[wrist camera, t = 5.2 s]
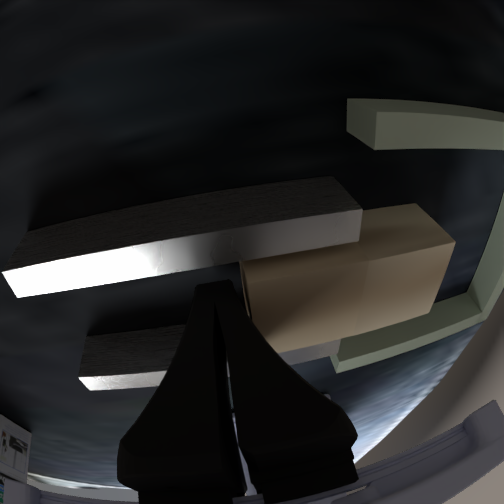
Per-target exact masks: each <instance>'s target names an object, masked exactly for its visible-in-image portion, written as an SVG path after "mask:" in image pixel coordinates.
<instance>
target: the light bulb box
mask: <svg viewBox="0 0 504 504" xmlns="http://www.w3.org/2000/svg"><path fill="white" fill-rule="evenodd" d="M31 437H32V434H31V433H30V432H28V431H26V430H25V429H23V428H22V427H20V426H18V425H17V424H15V423H13V422H12V421H10V420H9V419H7V418H6V417H4V416H3V415H1V414H0V504H3V498H4V483H5V479H6V478H7V479H10V480H14V481H18V482H22V483H25V484H27V471H28V461H29V452H30V444H31Z"/></svg>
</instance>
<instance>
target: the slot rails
mask: <svg viewBox="0 0 504 504" xmlns="http://www.w3.org/2000/svg"><path fill="white" fill-rule="evenodd" d="M362 212H363V209H362V208H361V206H360V205H359V204H358V203H357V202H356V201H355V200H354V199H353V198H352V196H351V195H350V194H349V193H348V192H347V191H346V190H345V189H344V188H343V187H342V186H341V184H340V183H339V182H338V181H337V180H336V179H335V178H334V177H333V176H326V177H317V178H308V179H300V180H291V181H284V182H276V183H268V184H261V185H254V186H247V187H241V188H234V189H228V190H221V191H215V192H209V193H203V194H197V195H191V196H186V197H180V198H175V199H169V200H164V201H159V202H153V203H148V204H143V205H138V206H133V207H128V208H124V209H119V210H114V211H110V212H105V213H101V214H96V215H92V216H87V217H83V218H79V219H75V220H70V221H66V222H62V223H58V224H54V225H50V226H46V227H42V228H39V229H35V230H31V231H27V232H26V234H25V235H24V237H23V238H22V240H21V241H20V243H19V244H18V246H17V248H16V249H15V251H14V253H13V254H12V256H11V257H10V259H9V261H8V262H7V264H6V266H5V268H4V269H3V271H2V273H3V275H4V276H5V278H6V280H7V281H8V283H9V285H10V286H11V288H12V290H13V291H14V293H15V294H16V296H17V297H25V296H31V295H38V294H44V293H51V292H57V291H63V290H70V289H76V288H82V287H88V286H95V285H101V284H107V283H113V282H119V281H126V280H132V279H138V278H144V277H150V276H156V275H162V274H168V273H174V272H181V271H187V270H193V269H199V268H205V267H211V266H217V265H223V264H228V263H234V262H240V261H246V260H252V259H258V258H264V257H270V256H276V255H281V254H287V253H293V252H299V251H305V250H310V249H316V248H322V247H328V246H334V245H339V244H345V243H351V242H356V241H359V235H360V228H361V220H362ZM185 326H186V324H182V325H175V326H168V327H160V328H153V329H145V330H138V331H130V332H121V333H113V334H104V335H94V336H86V339H85V344H84V349H83V354H82V359H81V364H80V370H79V376H78V378H79V379H80V380H81V381H82V382H83V383H84V384H85V386H86V387H87V388H88V389H89V390H107V389H124V388H138V387H150V386H159V385H160V383H161V381H162V379H163V377H164V375H165V374H166V372H167V370H168V367H169V365H170V363H171V361H172V359H173V357H174V355H175V352H176V350H177V347H178V345H179V342H180V340H181V337H182V335H183V332H184V329H185ZM340 341H341V339H338V340H334V341H330V342H326V343H321V344H317V345H313V346H309V347H304V348H300V349H295V350H291V351H286V352H281V353H278V354H279V356H280V357H281V358H282V359H283V360H284V361H285V362H286V363H287V364H288V365H293V364H297V363H302V362H306V361H310V360H315V359H319V358H323V357H327V356H331V355H335V354H338V350H339V346H340ZM226 353H227V352H226ZM227 370H228V377H230V375H229V367H228V360H227Z"/></svg>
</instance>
